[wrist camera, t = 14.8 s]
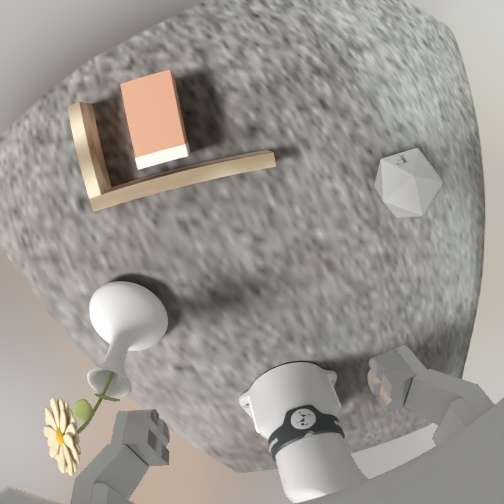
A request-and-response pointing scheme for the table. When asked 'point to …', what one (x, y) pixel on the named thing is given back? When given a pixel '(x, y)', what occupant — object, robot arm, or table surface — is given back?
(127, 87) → the block
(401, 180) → the die
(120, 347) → the flower in vase
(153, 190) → the wooden corner bracket
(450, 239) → the table surface
